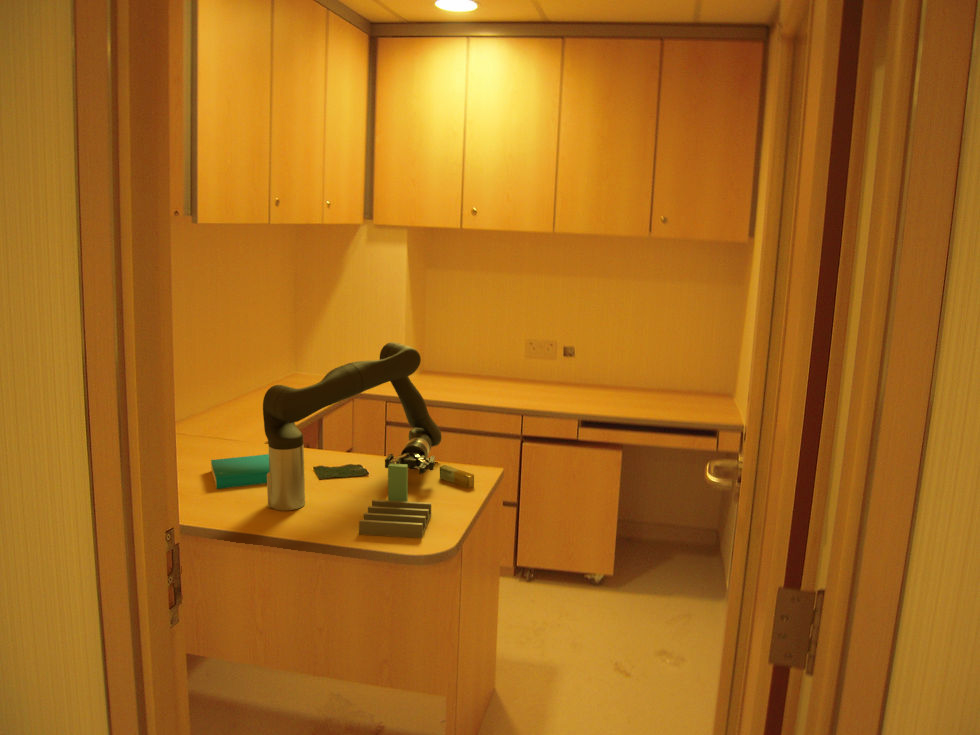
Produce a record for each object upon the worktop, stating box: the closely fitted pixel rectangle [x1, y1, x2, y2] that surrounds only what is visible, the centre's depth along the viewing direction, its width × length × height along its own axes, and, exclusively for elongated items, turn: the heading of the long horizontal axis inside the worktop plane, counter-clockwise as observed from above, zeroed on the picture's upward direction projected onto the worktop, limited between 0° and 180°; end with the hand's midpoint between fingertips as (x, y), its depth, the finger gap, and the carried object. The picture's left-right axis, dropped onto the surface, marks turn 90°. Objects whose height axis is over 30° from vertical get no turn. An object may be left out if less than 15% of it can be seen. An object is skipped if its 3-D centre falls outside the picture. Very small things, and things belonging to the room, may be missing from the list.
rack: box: [358, 499, 432, 539], centre depth 215 cm, size 16×15×4 cm
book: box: [210, 453, 269, 490], centre depth 249 cm, size 17×4×25 cm
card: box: [387, 463, 409, 502], centre depth 226 cm, size 5×2×12 cm, turn 85°
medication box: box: [439, 464, 475, 489], centre depth 247 cm, size 12×3×4 cm, turn 50°
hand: (405, 470), depth 237 cm, fingers open, 8 cm apart
